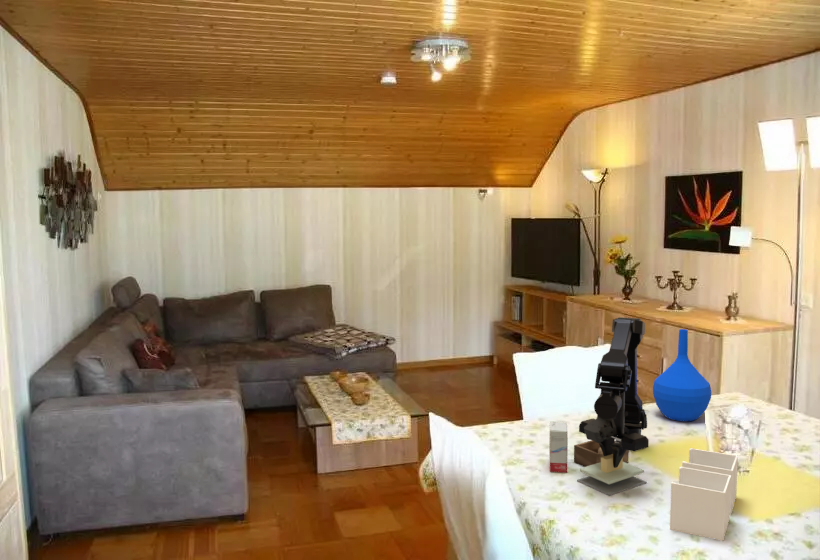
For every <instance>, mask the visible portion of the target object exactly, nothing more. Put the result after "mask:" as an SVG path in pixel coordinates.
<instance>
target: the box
mask: <svg viewBox="0 0 820 560" xmlns="http://www.w3.org/2000/svg"><path fill="white" fill-rule="evenodd" d="M614 443H615V442H614ZM599 448H600V445H599V443H596V442H595V441H593V440H589V441H588V440H587V441H585V442H581V443H577V444H574V446H573V463H575V464H577V465H580V466H582V467H587V466H590V465H593V464H596V463H600V462H601V457H604V455H603V452H601V453H598V449H599ZM629 453H630V450H627V451H626V452H625V454H624V456H623V462H625V463H628V464H629V459H630V458H629V455H630V454H629Z"/></svg>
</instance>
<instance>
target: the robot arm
mask: <svg viewBox="0 0 820 560" xmlns="http://www.w3.org/2000/svg"><path fill="white" fill-rule="evenodd" d="M611 324H612V325H611V333H613V335H612V339H611V343H610V347H609V349H608V352H606V353H605V354H603V355H602V357H601V360H600V362H599V363H598V365H597V370H596V376H595V377H596V378H595V383H594V389H599V390H600V394H599V396H598V397H597V399H596V400H595V401H594V404H593V408H594V412H595V414H596V418H589V419H586V420H582V421H581V422H580V423H579V425H578V431H579V433H581V434H583V435H585V437H586V439H587V441H588V440H589V441H591V440H593V441H595V442H596V443H599V445H600V447H601V449H602V452H603V455H604V456H608V455H611V454H613V466H614V468H617V467H618V465H619V463H620V461H621V460H622V458H623V456H624V454H625V452H626V451H627V450H629V452H637V451H641V450H644V449H648V448H649V444H650V443H649V442H650V441H649V440H650V439H649V438H648V437H647V436H646V435H643V434H642V431H643V430H644V429H648V418H647V414H646V410H645V408H643V400H642V398H640V396H639V394H638V389H637V388H638V346H639V345H640V344H641V342H642V339H643V337H644V335H645V334H646V323H645V321H643V320H642V318H637V317H634V318H633V317H620V316H619V317H617V318H613V319H612V323H611ZM614 442H615V443H614Z"/></svg>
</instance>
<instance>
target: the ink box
mask: <svg viewBox="0 0 820 560" xmlns="http://www.w3.org/2000/svg"><path fill="white" fill-rule="evenodd" d="M568 442H569V441H568V423H567V422H565V421H549V450H548V451H549V472H550V473H564V474H565V473H568V457H569V456H568V447H569V446H568Z"/></svg>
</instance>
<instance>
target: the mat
mask: <svg viewBox="0 0 820 560" xmlns="http://www.w3.org/2000/svg"><path fill="white" fill-rule="evenodd" d="M576 482H578V483H580V484H582V485H584V486H587V487H588V488H590V489H593V490H596V491H598V492H600V493H602V494H604V495H606V496H608V497H610V496H613V495H615V494H619V493H622V492H625V491H627V490H631V489H634V488H637V487H640V486H642V485H645V484H648V482H647V480H645V479H641V478H640V477H637V476H633V477H630V478H627V479H624V480H621V481H618V482H615V483H612V484H607V483H605V482H602V481H600V480H598V479H596V478H593V477H591V476H589V475H587V476H585V477H581V478H578V479H576Z"/></svg>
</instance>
